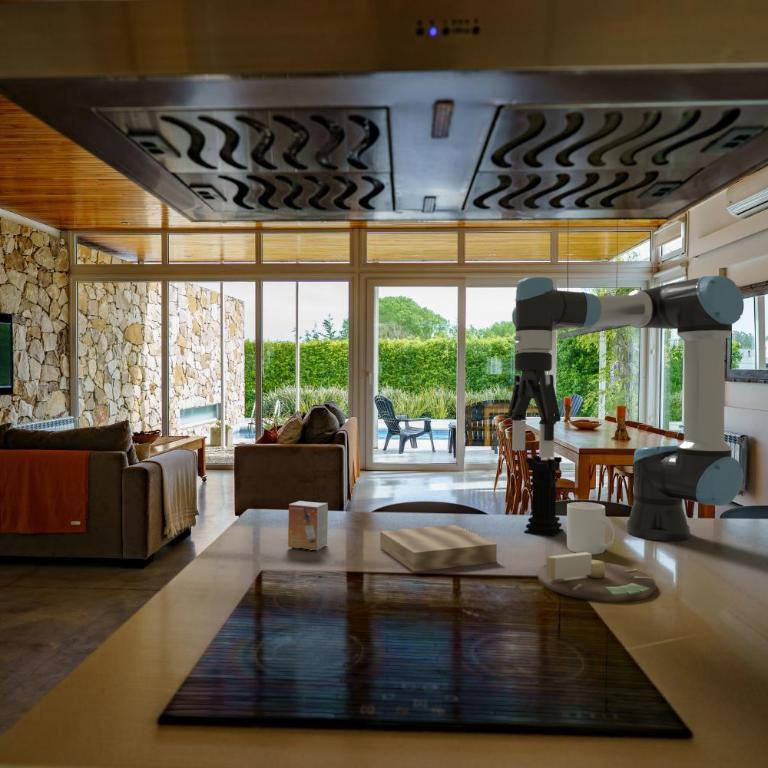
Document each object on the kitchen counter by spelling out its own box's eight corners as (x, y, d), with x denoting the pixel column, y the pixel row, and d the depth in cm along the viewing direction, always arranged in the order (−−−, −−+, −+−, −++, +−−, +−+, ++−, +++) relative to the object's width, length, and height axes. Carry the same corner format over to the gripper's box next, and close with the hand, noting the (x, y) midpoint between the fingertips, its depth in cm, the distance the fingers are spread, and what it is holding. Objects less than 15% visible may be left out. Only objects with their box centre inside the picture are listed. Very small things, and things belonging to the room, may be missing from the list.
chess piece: (563, 532, 164) (563, 457, 164) (554, 538, 158) (554, 460, 158) (534, 528, 169) (534, 455, 169) (524, 534, 162) (524, 458, 162)
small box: (287, 548, 147) (287, 504, 147) (299, 542, 153) (299, 500, 153) (317, 551, 144) (317, 506, 144) (328, 545, 150) (328, 502, 150)
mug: (602, 561, 137) (602, 513, 137) (559, 549, 147) (559, 504, 147) (625, 555, 142) (625, 509, 142) (582, 544, 152) (582, 500, 152)
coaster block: (454, 540, 155) (454, 524, 155) (496, 562, 136) (496, 544, 136) (380, 547, 148) (380, 531, 148) (413, 571, 129) (413, 552, 129)
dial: (601, 562, 137) (601, 555, 137) (681, 593, 116) (681, 585, 116) (516, 572, 129) (516, 565, 129) (586, 608, 108) (586, 599, 108)
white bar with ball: (596, 571, 125) (596, 549, 125) (608, 576, 121) (608, 553, 121) (543, 578, 120) (543, 555, 120) (554, 583, 117) (554, 560, 117)
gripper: (494, 354, 140) (493, 447, 140) (543, 348, 116) (541, 460, 116) (525, 355, 142) (524, 447, 142) (579, 349, 117) (578, 460, 117)
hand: (531, 453), depth 129 cm, fingers open, 13 cm apart
